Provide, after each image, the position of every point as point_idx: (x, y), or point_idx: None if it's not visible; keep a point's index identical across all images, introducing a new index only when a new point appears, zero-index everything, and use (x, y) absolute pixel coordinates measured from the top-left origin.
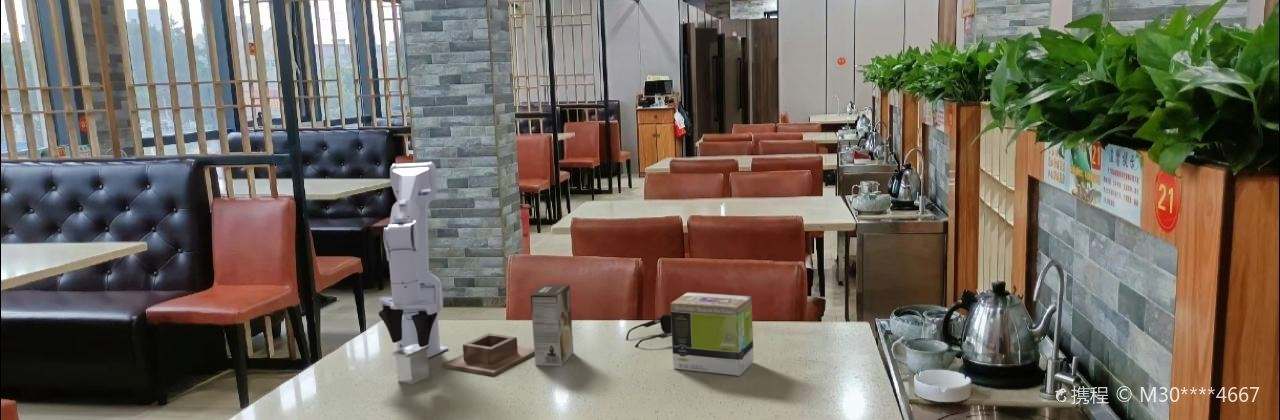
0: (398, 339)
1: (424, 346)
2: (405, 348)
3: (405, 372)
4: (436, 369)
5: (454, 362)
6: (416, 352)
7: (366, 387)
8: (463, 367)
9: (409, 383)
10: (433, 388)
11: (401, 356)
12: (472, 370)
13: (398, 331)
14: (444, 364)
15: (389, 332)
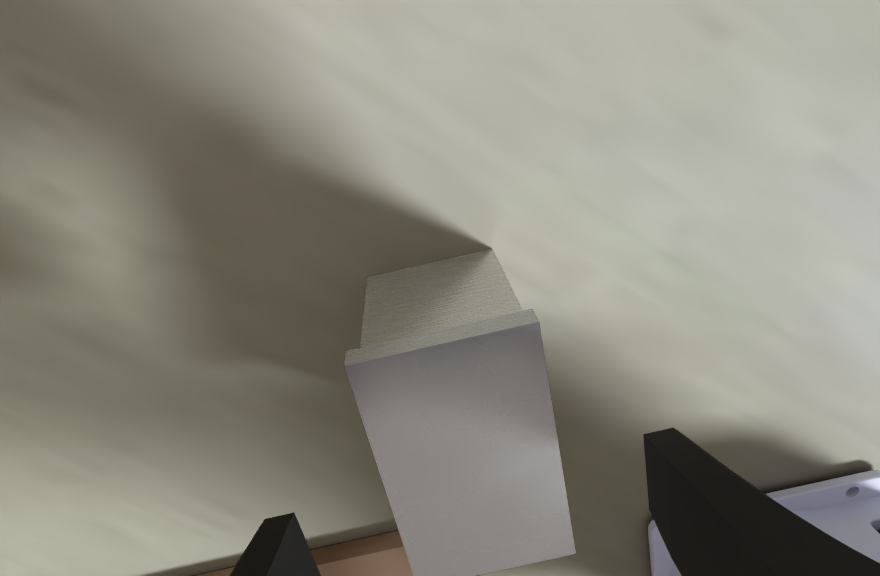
0: (655, 491)
1: (430, 560)
2: (533, 450)
3: (421, 295)
4: None
5: None
6: (380, 461)
7: (590, 39)
8: None
9: (392, 272)
10: (183, 317)
11: (419, 337)
12: None
13: (702, 573)
14: None
15: (752, 494)
